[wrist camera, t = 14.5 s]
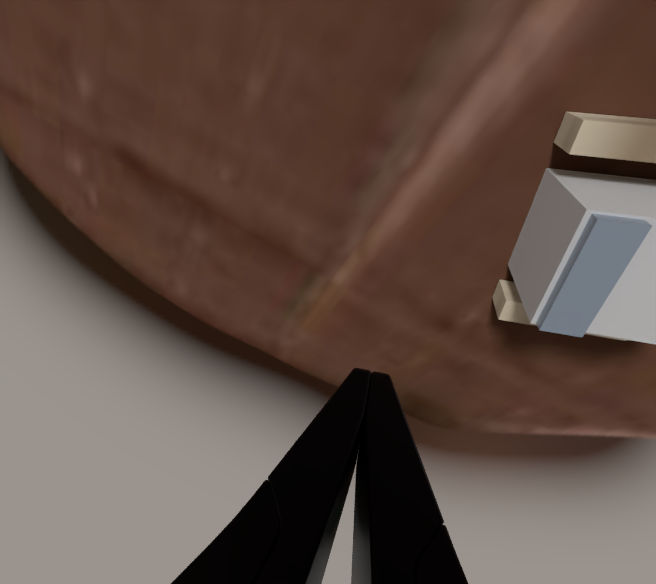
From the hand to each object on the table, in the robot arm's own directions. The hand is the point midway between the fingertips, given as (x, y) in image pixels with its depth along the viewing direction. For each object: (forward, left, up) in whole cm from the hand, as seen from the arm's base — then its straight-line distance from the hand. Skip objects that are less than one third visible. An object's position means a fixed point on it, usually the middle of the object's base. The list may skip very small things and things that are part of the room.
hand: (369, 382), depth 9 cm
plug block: (-9, 0, -12) cm, 15 cm away
